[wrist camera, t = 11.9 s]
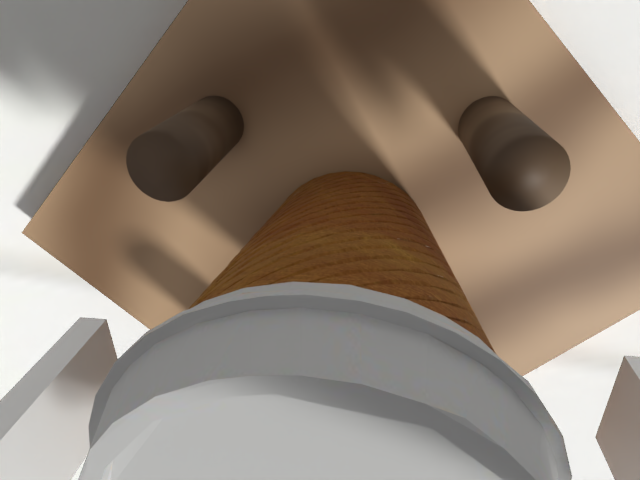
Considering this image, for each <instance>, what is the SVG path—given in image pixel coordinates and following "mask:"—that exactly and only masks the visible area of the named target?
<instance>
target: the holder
mask: <svg viewBox="0 0 640 480" xmlns="http://www.w3.org/2000/svg"><path fill="white" fill-rule="evenodd" d="M343 171H349V172H363V173H367V174H371V175H375V176H377V177H380V178H382V179H384V180H386V181H389V182H391V183H393V184H395V185H396V186H397V187H399V188H400V189H401V190H403V191H404V192H405V193H407V194H408V196H409V197H410V198H411V199H412V200H413V201H414V202H415V203H416V205H417V206H418V208H419V210H420V211H421V213H422V215H423V217H424V219H425V220H426V222H427V224H428V226H429V228H430V230H431V232H432V234H433V236H434V238H435V239H436V241H437V243H438V245H439V247H440V249H441V251H442V253H443V255H444V256H445V258H446V260H447V262H448V264H449V266H450V268H451V270H452V272H453V274H454V276H455V277H456V279H457V281H458V283H459V285H460V287H461V288H462V290H463V292H464V294H465V296H466V298H467V300H468V302H469V304H470V306H471V307H472V309H473V311H474V313H475V315H476V317H477V319H478V321H479V323H480V325H481V327H482V329H483V330H484V332H485V334H486V336H487V338H488V340H489V342H490V344H491V345H492V347H493V349H494V351H495V353H496V355H498V356H499V357H500V358H501V359H502V360H503V361H504V362H506V363H507V364H508V365H509V366H510V367H512V368H513V369H514V370H515V371H516V372H518V373H519V374H520V375H521V376H524V375H525V374H527V373H529V372H531V371H532V370H534V369H536V368H538V367H540V366H541V365H543V364H545V363H547V362H548V361H550V360H552V359H554V358H555V357H557V356H559V355H561V354H562V353H564V352H566V351H568V350H569V349H571V348H573V347H575V346H577V345H578V344H580V343H582V342H584V341H585V340H587V339H589V338H591V337H592V336H594V335H596V334H598V333H599V332H601V331H603V330H605V329H607V328H608V327H610V326H612V325H614V324H615V323H617V322H619V321H621V320H622V319H624V318H626V317H628V316H629V315H631V314H633V313H635V312H636V311H638V310H640V142H639V140H638V139H637V138H636V137H635V135H634V134H633V133H632V132H631V130H630V129H629V128H628V126H627V125H626V124H625V123H624V121H623V120H622V119H621V117H620V116H619V115H618V114H617V112H616V111H615V110H614V108H613V107H612V106H611V105H610V103H609V102H608V101H607V99H606V98H605V97H604V96H603V94H602V93H601V92H600V90H599V89H598V88H597V87H596V85H595V84H594V83H593V82H592V80H591V79H590V78H589V76H588V75H587V74H586V73H585V71H584V70H583V69H582V67H581V66H580V65H579V64H578V62H577V61H576V60H575V58H574V57H573V56H572V55H571V53H570V52H569V51H568V49H567V48H566V47H565V46H564V44H563V43H562V42H561V40H560V39H559V38H558V37H557V35H556V34H555V33H554V32H553V30H552V29H551V28H550V26H549V25H548V24H547V23H546V21H545V20H544V19H543V17H542V16H541V15H540V14H539V12H538V11H537V10H536V8H535V7H534V6H533V5H532V3H531V2H530V1H529V0H188V1H187V3H186V4H185V6H184V7H183V8H182V10H181V11H180V13H179V14H178V15H177V17H176V18H175V20H174V21H173V22H172V24H171V25H170V26H169V28H168V29H167V31H166V32H165V33H164V35H163V36H162V38H161V39H160V40H159V42H158V43H157V45H156V46H155V47H154V49H153V50H152V52H151V53H150V54H149V56H148V57H147V59H146V60H145V61H144V63H143V64H142V66H141V67H140V68H139V70H138V71H137V73H136V74H135V75H134V77H133V78H132V80H131V81H130V82H129V84H128V85H127V87H126V88H125V89H124V91H123V92H122V93H121V95H120V96H119V98H118V99H117V100H116V102H115V103H114V105H113V106H112V107H111V109H110V110H109V112H108V113H107V114H106V116H105V117H104V119H103V120H102V121H101V123H100V124H99V126H98V127H97V128H96V130H95V131H94V133H93V134H92V135H91V137H90V138H89V140H88V141H87V142H86V144H85V145H84V147H83V148H82V149H81V151H80V152H79V154H78V155H77V156H76V158H75V159H74V160H73V162H72V163H71V165H70V166H69V167H68V169H67V170H66V172H65V173H64V174H63V176H62V177H61V179H60V180H59V181H58V183H57V184H56V186H55V187H54V188H53V190H52V191H51V193H50V194H49V195H48V197H47V198H46V200H45V201H44V202H43V204H42V205H41V207H40V208H39V209H38V211H37V212H36V214H35V215H34V216H33V218H32V219H31V221H30V222H29V223H28V225H27V226H26V227H25V229H24V230H23V232H22V233H23V234H24V235H25V236H27V237H28V238H29V239H31V240H32V241H33V242H35V243H36V244H37V245H39V246H40V247H41V248H43V249H44V250H45V251H47V252H48V253H49V254H51V255H52V256H53V257H55V258H56V259H57V260H59V261H60V262H61V263H63V264H64V265H65V266H67V267H68V268H69V269H71V270H72V271H73V272H75V273H76V274H77V275H79V276H80V277H81V278H83V279H84V280H85V281H87V282H88V283H89V284H90V285H92V286H93V287H94V288H96V289H97V290H98V291H100V292H101V293H102V294H104V295H105V296H106V297H108V298H109V299H110V300H112V301H113V302H114V303H116V304H117V305H118V306H120V307H121V308H122V309H124V310H125V311H126V312H128V313H129V314H130V315H132V316H133V317H134V318H136V319H137V320H138V321H140V322H141V323H142V324H144V325H145V326H146V327H148V328H149V329H150V330H151V329H153V328H154V327H156V326H158V325H160V324H161V323H163V322H165V321H167V320H168V319H170V318H172V317H173V316H175V315H177V314H179V313H180V312H182V311H184V310H188V309H189V307H190V306H191V305H192V304H193V303H194V302H195V301H196V300H197V299H198V298H199V297H200V295H201V294H202V293H203V292H204V291H205V290H206V289H207V288H208V286H209V285H210V284H211V283H212V282H213V280H214V279H215V278H216V277H217V276H218V275H219V274H220V273H221V272H222V271H223V270H224V269H225V268H226V267H227V266H228V264H229V263H230V262H231V260H232V259H233V258H234V257H235V256H236V255H237V254H238V253H239V252H240V251H241V249H242V248H243V247H244V246H245V245H246V244H247V243H248V242H249V241H250V239H251V238H252V237H253V235H254V234H255V233H256V232H257V231H258V230H260V228H261V227H262V226H263V225H264V224H265V223H266V222H267V220H268V219H269V218H270V217H271V216H272V215H273V214H274V213H275V212H276V211H277V210H278V208H279V207H280V206H281V205H282V204H283V203H284V202H285V200H286V199H287V198H288V197H289V196H290V195H291V194H292V193H293V192H294V191H295V190H296V189H297V188H298V187H300V186H301V185H303V184H305V183H306V182H308V181H310V180H312V179H313V178H316V177H319V176H322V175H325V174H328V173H336V172H343Z"/></svg>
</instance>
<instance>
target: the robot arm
mask: <svg viewBox="0 0 640 480" xmlns="http://www.w3.org/2000/svg"><path fill="white" fill-rule="evenodd" d="M117 360H118V359H117V356H116V352H115V348H114V345H113V341H112V338H111V334H110V330H109V327H108V323H107V320H106V319H95V318H81V317H80V318H79V319H78V320H77V321H76V322H75V323H74V325H73V326H72V327H71V328H70V329H69V330H68V331H67V332H66V333H65V334H64V335H63V336H62V337H61V338H60V339H59V340H58V341H57V342H56V343H55V344H54V345H53V346H52V347H51V348H50V349H49V351H48V352H47V353H46V354H45V355H44V356H43V357H42V358H41V359H40V360H39V361H38V362H37V363H36V364H35V365H34V366H33V367H32V368H31V369H30V370H29V371H28V372H27V373H26V374H25V376H24V377H23V378H22V379H21V380H20V381H19V382H18V383H17V384H16V385H15V386H14V387H13V388H12V389H11V390H10V391H9V392H8V393H7V394H6V395H5V396H4V397H3V398H2V399H1V401H0V480H71V479H72V477H73V476H74V474H75V473H76V471H77V470H78V468H79V467H80V465H81V464H82V462H83V461H84V459H85V458H86V456H87V454H88V452H89V449H90V443H89V427H88V426H89V421H90V417H91V412H92V408H93V403H94V399H95V395H96V393H97V392H98V390H99V388H100V387H101V385H102V383H103V381H104V380H105V378H106V376H107V375H108V373H109V371H110V370H111V368H112V366H113V364H114V363H115V361H117ZM596 439H597V442H598V444H599V446H600V448H601V450H602V452H603V455H604V457H605V459H606V461H607V463H608V466H609V468H610V470H611V472H612V474H613V476H614V479H615V480H640V357H634V356H624V358H623V361H622V364H621V367H620V369H619V372H618V375H617V378H616V381H615V383H614V386H613V389H612V392H611V395H610V398H609V400H608V403H607V406H606V409H605V412H604V414H603V417H602V420H601V423H600V426H599V428H598V431H597V434H596Z"/></svg>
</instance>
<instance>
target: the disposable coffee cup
mask: <svg viewBox="0 0 640 480" xmlns="http://www.w3.org/2000/svg"><path fill="white" fill-rule="evenodd" d="M88 427H89V443H90V449H89V452H88V455H87V457H86V460H85V463H84V465H83V468H82V471H81V474H80V476H79V479H78V480H571V478H572V475H571V470H570V466H569V461H568V457H567V453H566V448H565V444H564V439H563V436H562V434H561V432H560V430H559V429H558V427H557V425H556V424H555V422H554V420H553V419H552V417H551V416H550V414H549V413H548V411H547V410H546V408H545V407H544V405H543V403H542V402H541V400H540V399H539V397H538V396H537V394H536V393H535V391H534V389H533V388H532V386H531V385H530V383H529V382H528V381H527V380H526V379H525V378H524V377H522V376H521V375H520V374H519V373H518V372H516V371H515V370H514V369H513V368H512V367H510V366H509V365H508V364H507V363H506V362H504V361H503V360H502V359H501V358H500V357H499V356H498V355H496V353H495V351H494V349H493V347H492V345H491V344H490V342H489V340H488V338H487V336H486V334H485V332H484V330H483V329H482V327H481V325H480V323H479V321H478V319H477V317H476V315H475V313H474V311H473V309H472V307H471V306H470V304H469V302H468V300H467V298H466V296H465V294H464V292H463V290H462V288H461V287H460V285H459V283H458V281H457V279H456V277H455V276H454V274H453V272H452V270H451V268H450V266H449V264H448V262H447V260H446V258H445V256H444V255H443V253H442V251H441V249H440V247H439V245H438V243H437V241H436V239H435V238H434V236H433V234H432V232H431V230H430V228H429V226H428V224H427V222H426V220H425V219H424V217H423V215H422V213H421V211H420V210H419V208H418V206H417V205H416V203H415V202H414V201H413V200H412V199H411V198H410V197H409V196H408V194H407V193H405V192H404V191H403V190H401V189H400V188H399V187H397V186H396V185H395V184H393V183H391V182H389V181H386V180H384V179H382V178H380V177H377V176H375V175H371V174H367V173H363V172H349V171H343V172H336V173H328V174H325V175H322V176H319V177H316V178H313V179H312V180H310V181H308V182H306V183H305V184H303V185H301V186H300V187H298V188H297V189H296V190H295V191H294V192H293V193H292V194H291V195H290V196H289V197H288V198H287V199H286V200H285V202H284V203H283V204H282V205H281V206H280V207H279V208H278V210H277V211H276V212H275V213H274V214H273V215H272V216H271V217H270V218H269V219H268V220H267V222H266V223H265V224H264V225H263V226H262V227H261V228H260V230H258V231H257V232H256V233H255V234H254V235H253V237H252V238H251V239H250V241H249V242H248V243H247V244H246V245H245V246H244V247H243V248H242V249H241V251H240V252H239V253H238V254H237V255H236V256H235V257H234V258H233V259H232V260H231V262H230V263H229V264H228V266H227V267H226V268H225V269H224V270H223V271H222V272H221V273H220V274H219V275H218V276H217V277H216V278H215V279H214V280H213V282H212V283H211V284H210V285H209V286H208V288H207V289H206V290H205V291H204V292H203V293H202V294H201V295H200V297H199V298H198V299H197V300H196V301H195V302H194V303H193V304H192V305H191V306H190V307H189V309H188V310H184V311H182V312H180V313H179V314H177V315H175V316H173V317H172V318H170V319H168V320H167V321H165V322H163V323H161V324H160V325H158V326H156V327H154V328H153V329H151V330H149V331H148V332H146V333H145V334H144V335H143V336H142V337H141V338H140V339H139V340H138V341H137V342H135V343H134V344H133V345H132V346H131V347H130V348H129V349H128V350H127V351H126V352H125V353H124V354H123V355H122V356H121V357H120V358H119V359H118V360H117V361H115V363H114V364H113V366H112V368H111V370H110V371H109V373H108V375H107V376H106V378H105V380H104V381H103V383H102V385H101V387H100V388H99V390H98V392H97V393H96V395H95V399H94V403H93V408H92V412H91V417H90V421H89V426H88Z"/></svg>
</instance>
